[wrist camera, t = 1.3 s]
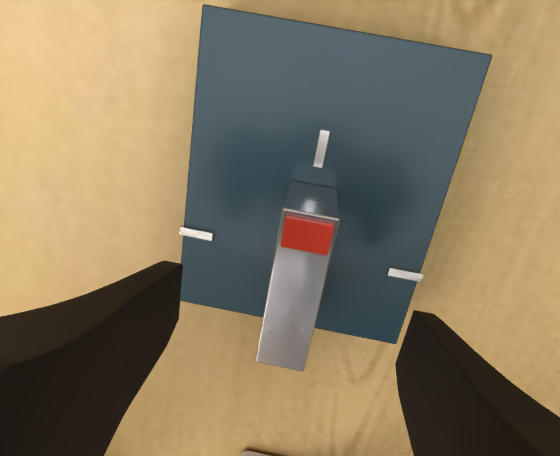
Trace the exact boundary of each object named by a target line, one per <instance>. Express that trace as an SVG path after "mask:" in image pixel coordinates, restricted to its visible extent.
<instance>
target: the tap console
mask: <svg viewBox="0 0 560 456" xmlns="http://www.w3.org/2000/svg"><path fill="white" fill-rule="evenodd" d="M491 59H492V55H491V54H485V53H479V52H473V51H468V50H462V49H456V48H451V47H445V46H439V45H434V44H428V43H422V42H416V41H411V40H405V39H399V38H394V37H388V36H382V35H376V34H371V33H365V32H359V31H354V30H348V29H342V28H336V27H331V26H325V25H319V24H314V23H308V22H302V21H297V20H291V19H285V18H279V17H274V16H268V15H262V14H257V13H251V12H245V11H239V10H234V9H228V8H222V7H217V6H211V5H205V4H204V5H203V6H202V17H201V29H200V41H199V53H198V65H197V77H196V89H195V101H194V113H193V125H192V137H191V149H190V161H189V172H188V184H187V196H186V208H185V220H184V226H181V227H180V235H183V244H182V256H181V264H183V272H182V284H181V296H180V301H185V302H189V303H194V304H199V305H204V306H209V307H214V308H219V309H224V310H229V311H234V312H239V313H244V314H249V315H254V316H259V317H263V315H264V310H265V304H266V299H267V293H268V287H269V282H270V276H271V271H272V265H273V259H274V254H275V248H276V243H277V237H278V231H279V226H280V220H281V215H282V209H283V206H284V203H285V199H286V196H287V193H288V190H289V187H290V183H291V181H297V182H302V183H307V184H312V185H318V186H323V187H328V188H334V189H336V190H337V199H338V208H339V218H340V221H339V226H338V230H337V234H336V238H335V242H334V247H333V251H332V255H331V259H330V263H329V268H328V272H327V276H326V280H325V285H324V289H323V293H322V297H321V301H320V306H319V310H318V314H317V318H316V322H315V327H314V328H318V329H323V330H328V331H333V332H338V333H343V334H348V335H353V336H358V337H362V338H367V339H372V340H377V341H382V342H387V343H392V344H396V343H397V340H398V337H399V334H400V331H401V328H402V325H403V322H404V319H405V316H406V313H407V310H408V307H409V304H410V301H411V298H412V295H413V292H414V289H415V286H416V283H417V281H418V282H422V279H423V276H424V274H423V273H420V271H421V268H422V265H423V262H424V259H425V256H426V253H427V250H428V247H429V244H430V241H431V238H432V235H433V232H434V229H435V226H436V223H437V220H438V217H439V214H440V211H441V208H442V205H443V202H444V199H445V196H446V193H447V190H448V187H449V184H450V181H451V178H452V175H453V172H454V169H455V166H456V163H457V160H458V157H459V154H460V151H461V148H462V145H463V142H464V139H465V136H466V133H467V130H468V127H469V124H470V121H471V118H472V115H473V112H474V109H475V106H476V103H477V100H478V97H479V94H480V91H481V88H482V85H483V82H484V79H485V76H486V73H487V70H488V67H489V64H490V62H491Z"/></svg>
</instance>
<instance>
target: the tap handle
mask: <svg viewBox="0 0 560 456" xmlns="http://www.w3.org/2000/svg"><path fill="white" fill-rule="evenodd" d="M339 221H340V218H339V208H338V199H337V190H336V189H334V188H328V187H323V186H318V185H312V184H307V183H302V182H297V181H291V183H290V187H289V190H288V193H287V196H286V199H285V203H284V206H283V209H282V215H281V220H280V226H279V231H278V237H277V243H276V248H275V254H274V259H273V265H272V271H271V276H270V282H269V287H268V293H267V299H266V304H265V310H264V315H263V321H262V327H261V332H260V338H259V343H258V349H257V355H256V362H260V363H264V364H269V365H274V366H279V367H284V368H289V369H293V370H298V371H304V369H305V365H306V360H307V356H308V352H309V348H310V344H311V339H312V335H313V331H314V327H315V322H316V318H317V314H318V310H319V306H320V301H321V297H322V293H323V289H324V285H325V280H326V276H327V272H328V268H329V263H330V259H331V255H332V251H333V247H334V242H335V238H336V234H337V230H338V226H339Z"/></svg>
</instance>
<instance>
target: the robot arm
mask: <svg viewBox="0 0 560 456" xmlns="http://www.w3.org/2000/svg"><path fill="white" fill-rule="evenodd" d="M182 272H183V264H179V263H174V262H169V261H162V262H159V263H156V264H154V265H152V266H150V267H148V268H146V269H143V270H141V271H139V272H137V273H135V274H133V275H130V276H128V277H126V278H124V279H122V280H119V281H117V282H115V283H112V284H110V285H108V286H105V287H103V288H100V289H98V290H95V291H93V292H90V293H88V294H85V295H82V296H79V297H76V298H73V299H70V300H67V301H64V302H60V303H57V304H54V305H50V306H46V307H42V308H38V309H34V310H29V311H25V312H21V313H16V314H12V315H7V316H2V317H0V456H104V454H105V452H106V450H107V448H108V446H109V444H110V442H111V440H112V438H113V436H114V434H115V432H116V430H117V428H118V426H119V424H120V422H121V420H122V418H123V416H124V414H125V412H126V411H127V409H128V407H129V405H130V404H131V402H132V401H133V399H134V397H135V396H136V394H137V393H138V391H139V389H140V388H141V386H142V385H143V383H144V382H145V380H146V378H147V377H148V375H149V374H150V372H151V370H152V369H153V367H154V366H155V364H156V362H157V361H158V359H159V358H160V356H161V354H162V353H163V351H164V349H165V348H166V346H167V344H168V342H169V340H170V337H171V335H172V333H173V331H174V329H175V326H176V324H177V322H178V319H179V307H180V296H181V284H182ZM396 375H397V385H398V393H399V398H400V402H401V406H402V410H403V414H404V419H405V422H406V426H407V430H408V434H409V438H410V442H411V446H412V450H413V454H414V456H560V417H558V416H557V415H555V414H554V413H552V412H551V411H549V410H548V409H547V408H545V407H544V406H542V405H541V404H540V403H538V402H537V401H535V400H534V399H533V398H531V397H530V396H529V395H527V394H526V393H524V392H523V391H522V390H520V389H519V388H518V387H517V386H515V385H514V384H513V383H512V382H510V381H509V380H508V379H507V378H505V377H504V376H503V375H502V374H501V373H499V372H498V371H497V370H496V369H495V368H493V367H492V366H491V365H490V364H489V363H488V362H487V361H485V360H484V359H483V358H482V357H481V356H480V355H479V354H478V353H477V352H475V351H474V350H473V349H472V348H471V347H470V346H469V345H468V344H467V343H466V342H465V341H464V340H463V339H461V338H460V337H459V336H458V335H457V334H456V333H455V332H454V331H453V330H452V329H451V328H450V327H449V326H447V325H446V324H445V323H444V322H443V321H442V320H441V319H440V318H438V317H437V316H436V315H434V314H431V313H426V312H421V311H416V310H414V311H413V314H412V317H411V320H410V323H409V326H408V329H407V332H406V335H405V337H404V340H403V343H402V346H401V349H400V352H399V355H398V358H397V361H396ZM241 456H270V455H266V454H261V453H256V452H252V451H245V452H243V453H242V454H241Z"/></svg>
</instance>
